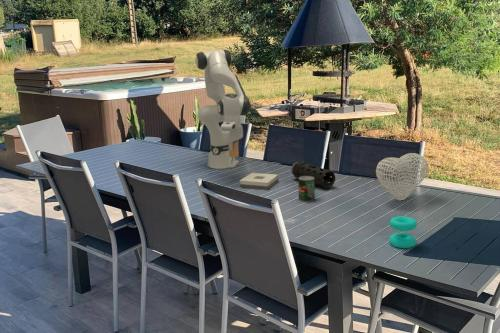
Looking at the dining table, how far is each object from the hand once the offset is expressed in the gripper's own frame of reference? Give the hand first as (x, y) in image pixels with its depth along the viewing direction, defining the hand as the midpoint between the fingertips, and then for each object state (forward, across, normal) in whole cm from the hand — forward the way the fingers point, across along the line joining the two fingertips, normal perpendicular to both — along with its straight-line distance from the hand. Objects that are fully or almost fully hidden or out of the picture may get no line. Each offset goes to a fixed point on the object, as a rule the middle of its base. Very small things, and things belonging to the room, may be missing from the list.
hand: (233, 148), depth 288 cm
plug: (+4, 0, 0) cm, 4 cm away
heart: (+20, +6, +91) cm, 93 cm away
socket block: (+19, 0, +15) cm, 24 cm away
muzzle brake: (+20, -10, +42) cm, 47 cm away
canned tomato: (+20, +18, +47) cm, 54 cm away
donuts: (+20, +61, +98) cm, 117 cm away
